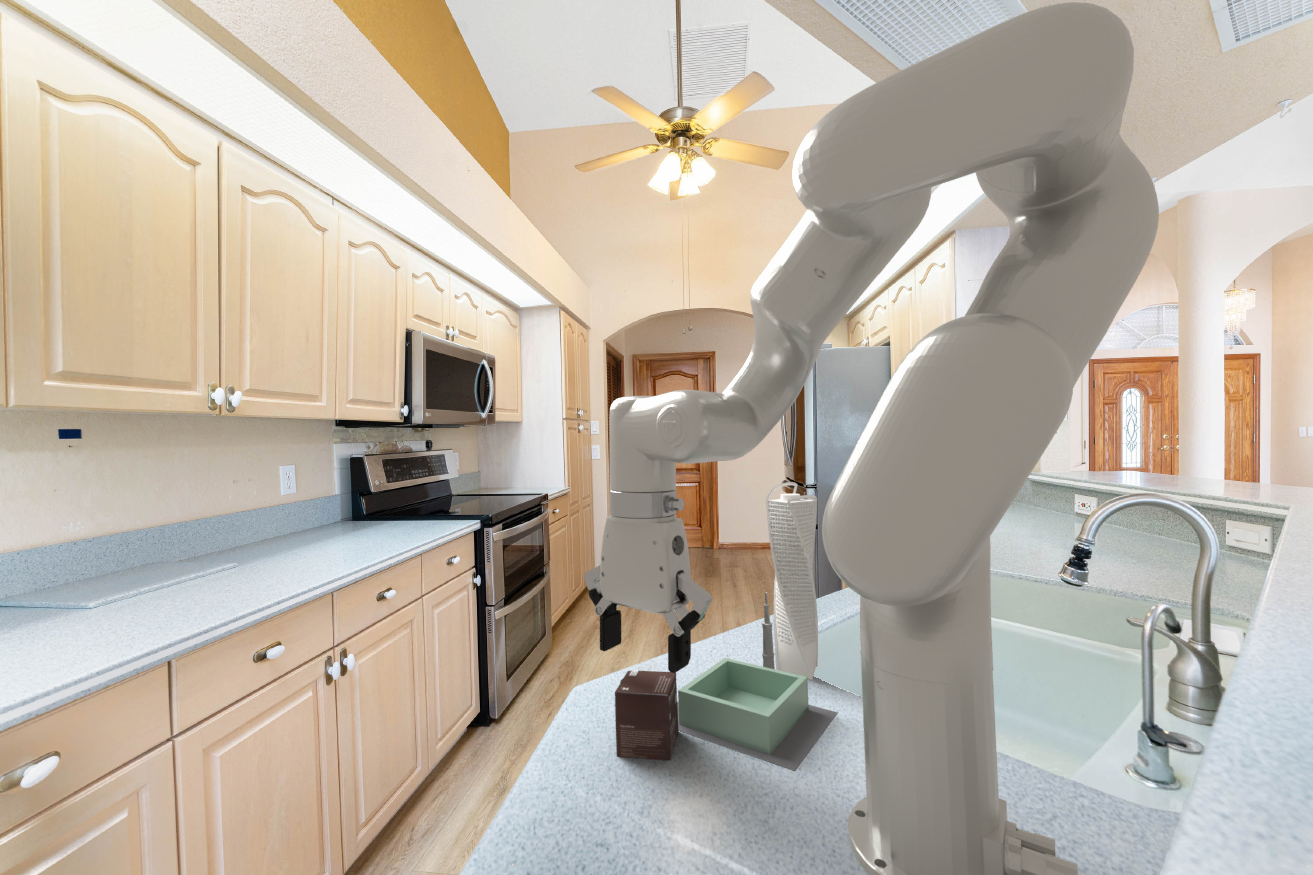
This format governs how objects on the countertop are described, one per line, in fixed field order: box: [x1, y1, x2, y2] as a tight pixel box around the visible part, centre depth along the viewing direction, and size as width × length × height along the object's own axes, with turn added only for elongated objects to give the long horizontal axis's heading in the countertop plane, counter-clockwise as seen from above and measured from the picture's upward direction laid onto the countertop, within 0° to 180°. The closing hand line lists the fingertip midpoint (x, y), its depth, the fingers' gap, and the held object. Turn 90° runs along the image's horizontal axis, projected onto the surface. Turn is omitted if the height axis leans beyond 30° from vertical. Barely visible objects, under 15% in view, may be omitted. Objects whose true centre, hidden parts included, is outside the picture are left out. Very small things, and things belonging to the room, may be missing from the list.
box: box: [614, 669, 679, 762], centre depth 59 cm, size 6×6×7 cm
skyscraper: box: [761, 481, 819, 681], centre depth 77 cm, size 8×8×28 cm
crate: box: [677, 657, 810, 755], centre depth 64 cm, size 12×12×4 cm
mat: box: [677, 701, 839, 772], centre depth 64 cm, size 18×14×1 cm
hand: (643, 657), depth 59 cm, fingers open, 9 cm apart
